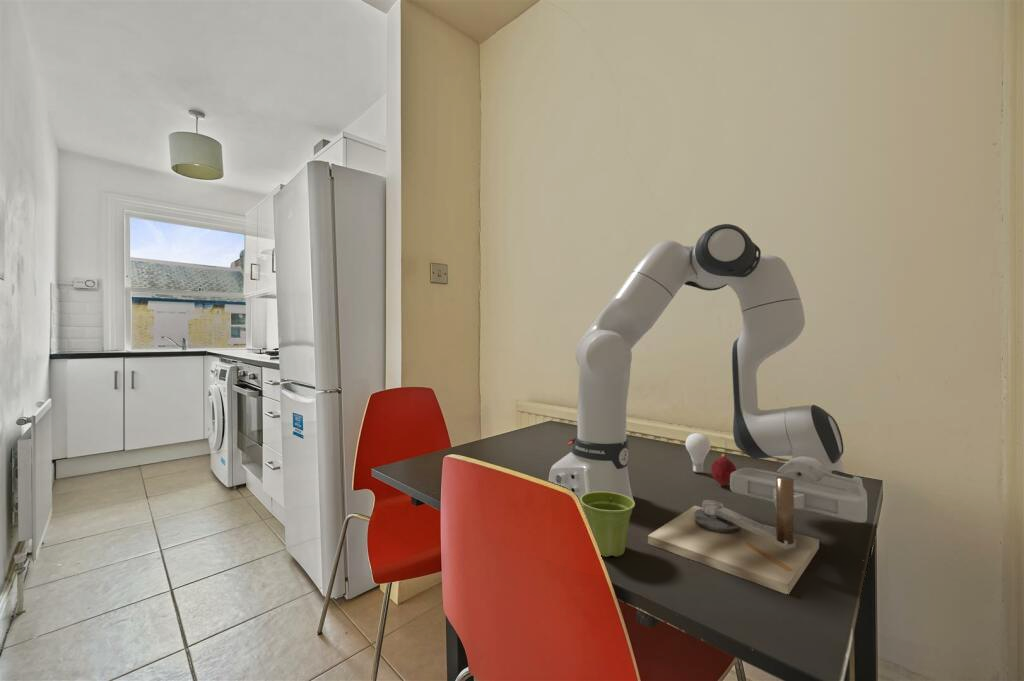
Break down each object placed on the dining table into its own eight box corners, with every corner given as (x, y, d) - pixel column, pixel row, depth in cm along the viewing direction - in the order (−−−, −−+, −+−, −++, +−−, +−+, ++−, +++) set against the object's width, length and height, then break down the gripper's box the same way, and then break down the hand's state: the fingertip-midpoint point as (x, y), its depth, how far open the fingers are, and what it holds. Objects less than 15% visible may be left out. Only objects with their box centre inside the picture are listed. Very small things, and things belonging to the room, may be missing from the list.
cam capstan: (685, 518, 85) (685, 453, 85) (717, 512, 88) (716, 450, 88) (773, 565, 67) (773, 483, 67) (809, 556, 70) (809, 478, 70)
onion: (739, 490, 106) (739, 457, 106) (714, 489, 107) (714, 456, 107) (732, 482, 111) (732, 451, 111) (708, 481, 112) (708, 450, 112)
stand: (647, 543, 78) (647, 534, 78) (694, 512, 92) (694, 504, 92) (788, 594, 63) (788, 583, 63) (819, 548, 76) (819, 538, 76)
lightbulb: (681, 469, 122) (681, 431, 122) (702, 469, 123) (702, 430, 123) (692, 477, 116) (692, 436, 116) (715, 476, 117) (715, 435, 117)
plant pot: (596, 532, 83) (596, 487, 83) (643, 547, 77) (643, 498, 77) (570, 551, 76) (570, 501, 76) (620, 569, 70) (620, 515, 70)
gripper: (743, 456, 88) (716, 470, 78) (873, 479, 73) (860, 501, 64) (743, 487, 88) (716, 505, 78) (873, 517, 73) (860, 544, 64)
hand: (782, 503), depth 71 cm, fingers closed, pressing on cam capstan
